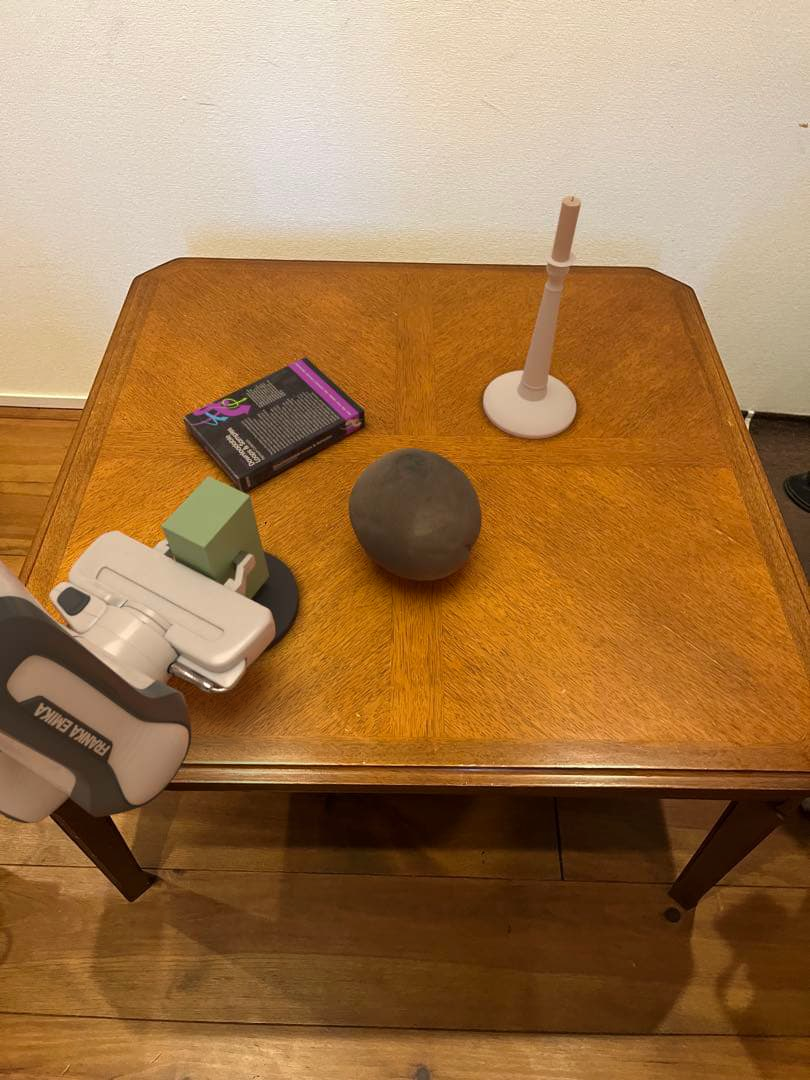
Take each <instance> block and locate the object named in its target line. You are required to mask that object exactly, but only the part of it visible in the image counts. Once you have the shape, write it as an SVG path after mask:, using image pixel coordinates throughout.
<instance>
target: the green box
mask: <svg viewBox="0 0 810 1080" xmlns="http://www.w3.org/2000/svg"><path fill="white" fill-rule="evenodd" d="M160 527H161V530H162V532H163V535H164V537H165V539H167V541H168V544H169V546H170V549H171V551H172V553H173V557H174V560H175V561H177V562H179V563H181V564H183V565H185V566H187V567H189V568H191V569H193V570H194V571H196V572H198V573H200V574H202V575H204V576H206V577H208V578H210V579H212V580H214V581H216V582H218V583H220V584H222V585H224V584H225V583H226V582H227V580H228V579H230V578H231V579H233V580H234V581H235V576H236V572H235V571H234V568H233V567H234V566H233V564H232V560H233V559H234V558H235V556H237V555H238V553H239V552H240V551H241V550H243V551H245V552H247V553H249V554H251V555H253V556H254V557H255V561H256V564H255V566H254V568H253V569H252V570H251V571H250V573H249V574H248V575H247V581H246V589H245V597H247V598H249V599H251V598H252V597H253V596H254V595H255V593H256V592H257V591H258V590H259V588H260V587H261V586H262V585H263V583H264V582H265V581H266V580H267V578H268V577H269V572H268V568H267V564H266V560H265V556H264V552H265V551H264V547H263V544H262V539H261V535H260V532H259V528H258V523H257V519H256V515H255V511H254V506H253V503H252V498H251V495H249V494H248V493H246V492H241V491H239V489H238V488H235V487H233V486H230V485H228V484H226V483H224V482H222V481H220V480H218V479H215V478H213V477H212V476H209V475H207V477H206V478H204V479H203V481H201V483H199V485H198V486H197V487H195V489H194V490H193V491H192V492H191V493H190V494H189V495H188V497H187V498H186V499H184V501H182V503H181V504H180V505H179V506H178V507H177V508H176V509H175V510H174V511H173V512H172V513H171V515H169V516H168V518H167V519H166V520H165V521H164V522H163V523H162V524H161V525H160ZM263 551H264V552H263Z"/></svg>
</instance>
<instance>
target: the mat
mask: <svg viewBox="0 0 810 1080" xmlns="http://www.w3.org/2000/svg"><path fill="white" fill-rule="evenodd" d="M263 552H264V556H265V560H266V564H267V568H268V572H269V577H268V578H267V580H266V581H265V582H264V583H263V585H262V586H261V587H260V588H259V590H258V591H257V592H256V593H255V595H254V596H253V597H252V598H251V600H252V601H254V602H256V603H258V604H260V605H262V606H264V607H266V608H268V609H269V610H270V611H271V613H272V616H273V619H274V623H275V637H274V638H273V640H272V641H271V642H270V644H269V645H268V646H267V647H266V648H265V650H264V651H263V652H262V653H261V654H263V653H265V652H267V651H269V650H270V649H271V648H273V647H274V646H275V645H277V644H278V643H279V642H281V640H282V639H283V638H284V637H285V636H286V635H287V634H288V633H289V631H290V630H291V628H292V627H293V625H294V623H295V621H296V618H297V616H298V611H299V607H300V594H299V588H298V584H297V580H296V578H295V575H294V573H293V572H292V571H291V569H290V568H289V567H288V566H287V564H285V563H284V562H283V561H282V560H281V559H279V558H278V557H277V556H275V555H273V554H271V553H269V552H266V551H264V550H263Z"/></svg>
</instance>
